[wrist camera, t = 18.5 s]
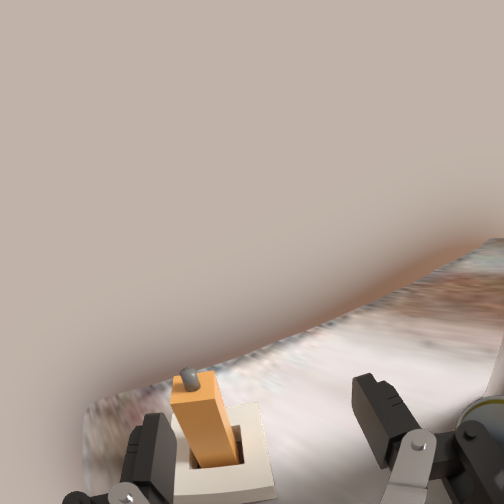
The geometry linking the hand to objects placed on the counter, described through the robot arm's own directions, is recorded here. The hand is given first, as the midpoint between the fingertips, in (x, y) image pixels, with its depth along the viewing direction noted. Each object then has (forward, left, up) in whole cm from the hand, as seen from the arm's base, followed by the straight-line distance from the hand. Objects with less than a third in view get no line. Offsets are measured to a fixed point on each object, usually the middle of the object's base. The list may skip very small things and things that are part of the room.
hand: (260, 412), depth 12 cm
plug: (-6, -15, -25) cm, 30 cm away
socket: (-6, -15, -25) cm, 30 cm away
